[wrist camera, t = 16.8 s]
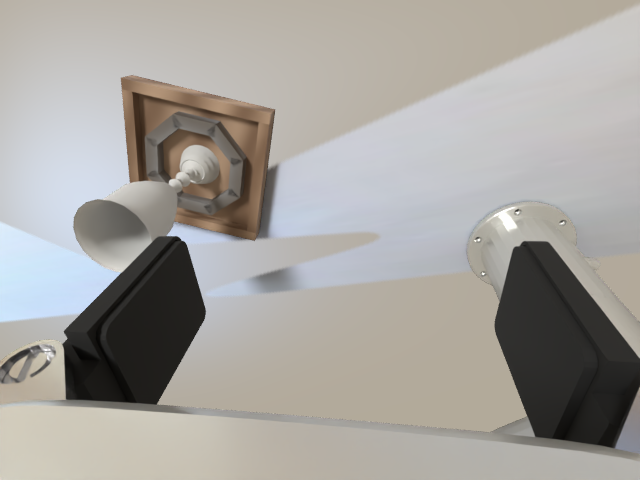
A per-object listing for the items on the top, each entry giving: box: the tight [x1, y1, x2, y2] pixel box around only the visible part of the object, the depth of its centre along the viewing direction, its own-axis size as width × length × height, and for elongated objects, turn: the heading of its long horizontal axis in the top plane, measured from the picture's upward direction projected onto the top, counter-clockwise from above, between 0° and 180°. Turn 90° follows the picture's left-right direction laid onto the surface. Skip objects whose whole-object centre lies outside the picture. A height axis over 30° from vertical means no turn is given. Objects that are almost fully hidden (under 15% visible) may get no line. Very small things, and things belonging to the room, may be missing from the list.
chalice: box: [73, 145, 220, 272], centre depth 38 cm, size 7×7×18 cm
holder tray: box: [121, 75, 275, 241], centre depth 46 cm, size 17×17×2 cm
